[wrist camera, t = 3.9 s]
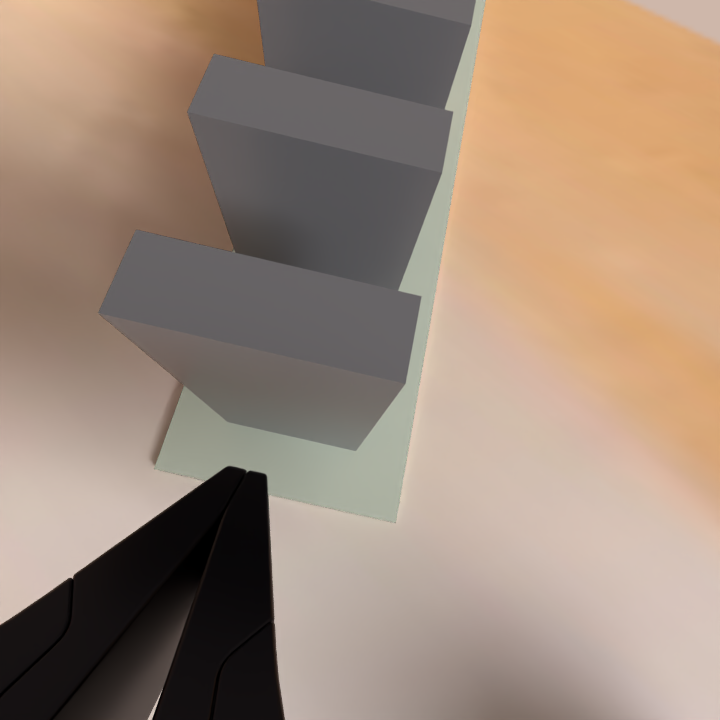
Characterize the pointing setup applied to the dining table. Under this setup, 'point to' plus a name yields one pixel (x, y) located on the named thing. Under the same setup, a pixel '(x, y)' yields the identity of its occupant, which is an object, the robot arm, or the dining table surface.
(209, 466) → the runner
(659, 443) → the dining table surface
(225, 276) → the domino
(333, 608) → the dining table surface
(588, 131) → the dining table surface
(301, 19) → the domino
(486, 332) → the dining table surface
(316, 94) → the domino
